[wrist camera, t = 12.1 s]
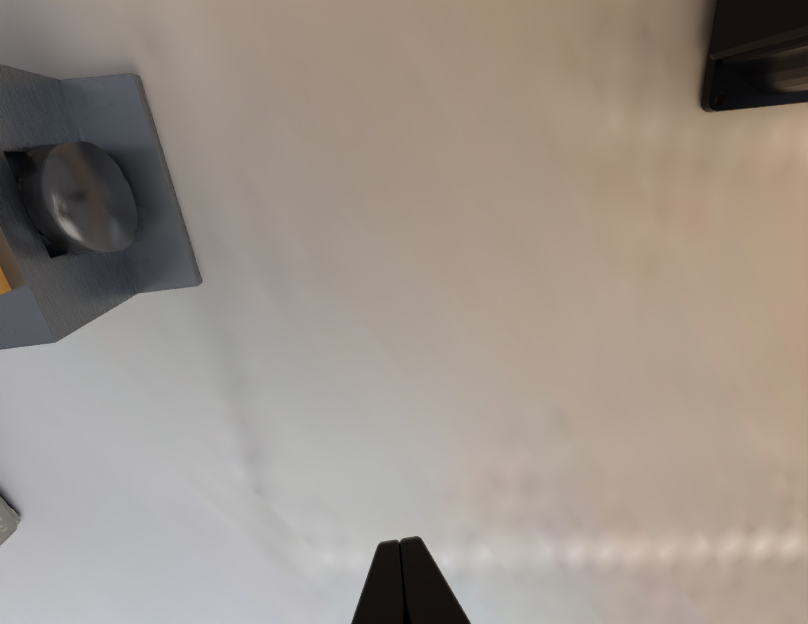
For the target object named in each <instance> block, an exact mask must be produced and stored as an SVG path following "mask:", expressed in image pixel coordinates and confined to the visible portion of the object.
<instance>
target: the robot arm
mask: <svg viewBox="0 0 808 624" xmlns="http://www.w3.org/2000/svg"><path fill="white" fill-rule="evenodd" d="M716 94H718V101H717V103H715V96H716ZM805 102H808V0H717V6H716V12H715V19H714V25H713V31H712V37H711V43H710V50H709V56H708V62H707V68H706V74H705V81H704V87H703V93H702V99H701V106H702V108H703V110H704V111H706V112H719V111H728V110H738V109H747V108H757V107H766V106H776V105H785V104H795V103H805ZM351 624H471V623H470V621H469V619H468V617H467V616H466V614H465V612H464V611H463V609H462V607H461V605H460V604H459V602H458V600H457V599H456V597H455V595H454V593H453V592H452V590H451V588H450V587H449V585H448V583H447V581H446V580H445V578H444V576H443V575H442V573H441V571H440V569H439V568H438V566H437V564H436V563H435V561H434V559H433V557H432V556H431V554H430V552H429V551H428V549H427V547H426V545H425V544H424V542H423V540H422V539H421V538H420V537H418V536H415V537H408V538H403V539H402V540H401V541H400V543H399V541H398V540H390V541H384V542H380V543H379V544H378V546H377V549H376V552H375V555H374V558H373V560H372V563H371V566H370V569H369V572H368V575H367V578H366V581H365V584H364V587H363V590H362V593H361V596H360V599H359V602H358V605H357V608H356V611H355V614H354V617H353V620H352V623H351Z"/></svg>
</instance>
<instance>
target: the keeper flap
mask: <svg viewBox="0 0 808 624" xmlns="http://www.w3.org/2000/svg"><path fill="white" fill-rule="evenodd" d="M8 291H11V288H10V286H9V284H8V281H7V279H6V277H5V275H4V273H3V271H2V269H1V267H0V294H3V293H6V292H8Z"/></svg>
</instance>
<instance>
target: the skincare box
mask: <svg viewBox="0 0 808 624" xmlns="http://www.w3.org/2000/svg"><path fill="white" fill-rule="evenodd" d="M20 521H21V519H20V517H19V516H18V514H17V513H16V512H15V511H14V510H13V509H11V508H10V507H9V506H8V505H7V503H6V502H5V501H4V500H3V499H2V497H1V496H0V546H1V545H2V544H3V543H4V542H5V541H6V540H7V539H8V538H9V537H10V536H11V535H12V534H13V533H14V532H15V531H16V529H17V526H18V524H19V523H20Z"/></svg>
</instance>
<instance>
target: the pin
mask: <svg viewBox="0 0 808 624" xmlns="http://www.w3.org/2000/svg"><path fill="white" fill-rule="evenodd" d="M14 177H15V179H16V182H17V184H18V186H19V188H20V192H21V196H22V199H23V202H24V205H25V207H26V209H27V211H28V213H29V215H30V217H31V219H32V220H33V222H34V224H35V225H36V227H37V229H38V231H39V234H40V236H43V235H44V236H45V237H46V238H47V239H48V240H49V241H50V242H52V243H53V244H54V245H56V246H57V247H59V248H60V249H62V250H64V251H66V252H68V253H72V254H77V255H85V254H94V253H102V252H111V251H119V250H123V249H125V248H127V247H128V246H129V245H130V244H131V243H132V241H133V240H134V237H135V235H136V230H137V210H136V205H135V201H134V197H133V194H132V191H131V189H130V186H129V184H128V182H127V180H126V178H125V176H124V174H123V173H122V171H121V170H120V168H119V167H118V165H117V164H116V163H115V161H114V160H113V159H112V158H111V157H110V156H109V155H108V154H107V153H106V152H105V151H104V150H102V149H101V148H99V147H98V146H96V145H94V144H92V143H89V142H85V141H78V142H68V143H58V144H48V145H39V146H35V147H33V148H31V149H29V150H28V151H27V152H26V153H25V155H24V156H23V158H22V160H21V163H20V167H19V175H14Z"/></svg>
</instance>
